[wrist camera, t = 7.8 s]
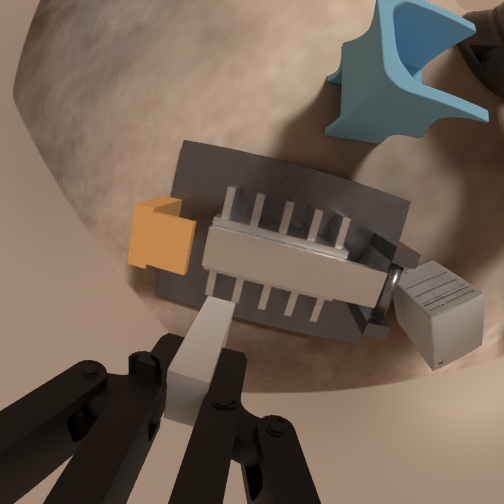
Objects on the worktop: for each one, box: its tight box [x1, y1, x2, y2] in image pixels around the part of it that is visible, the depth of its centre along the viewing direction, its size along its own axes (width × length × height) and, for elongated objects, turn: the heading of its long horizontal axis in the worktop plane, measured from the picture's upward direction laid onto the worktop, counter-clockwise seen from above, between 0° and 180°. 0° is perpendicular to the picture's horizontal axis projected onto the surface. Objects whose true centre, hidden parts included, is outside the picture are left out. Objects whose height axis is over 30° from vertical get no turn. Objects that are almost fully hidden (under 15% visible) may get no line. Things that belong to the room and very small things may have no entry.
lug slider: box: [128, 197, 197, 275], centre depth 30 cm, size 6×6×8 cm
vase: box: [325, 0, 489, 143], centre depth 20 cm, size 8×8×20 cm
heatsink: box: [156, 140, 421, 345], centre depth 31 cm, size 20×28×8 cm
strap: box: [202, 225, 404, 319], centre depth 28 cm, size 6×20×2 cm, turn 76°
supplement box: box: [393, 260, 484, 371], centre depth 29 cm, size 7×7×13 cm
